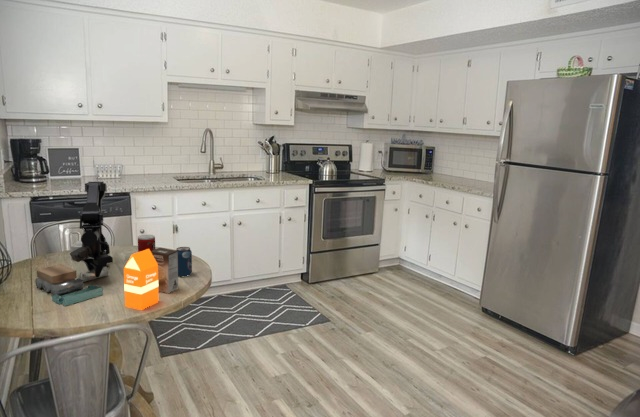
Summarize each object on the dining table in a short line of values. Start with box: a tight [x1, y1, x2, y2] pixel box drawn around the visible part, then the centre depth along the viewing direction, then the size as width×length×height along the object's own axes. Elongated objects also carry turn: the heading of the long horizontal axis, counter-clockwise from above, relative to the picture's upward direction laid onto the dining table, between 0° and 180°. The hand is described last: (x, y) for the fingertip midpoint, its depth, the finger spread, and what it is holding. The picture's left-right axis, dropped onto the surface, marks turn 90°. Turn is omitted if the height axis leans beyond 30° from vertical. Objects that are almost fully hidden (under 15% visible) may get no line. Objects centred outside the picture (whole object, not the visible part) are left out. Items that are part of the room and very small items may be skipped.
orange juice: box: [123, 249, 160, 311], centre depth 158 cm, size 8×9×20 cm
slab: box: [36, 263, 78, 284], centre depth 170 cm, size 9×12×3 cm
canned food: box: [137, 234, 156, 252], centre depth 211 cm, size 8×8×11 cm
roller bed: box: [35, 277, 104, 307], centre depth 168 cm, size 15×26×4 cm, turn 56°
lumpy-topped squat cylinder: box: [70, 240, 84, 263], centre depth 208 cm, size 10×13×9 cm
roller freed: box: [79, 267, 110, 283], centre depth 182 cm, size 10×4×4 cm, turn 146°
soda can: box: [175, 246, 193, 277], centre depth 191 cm, size 7×7×12 cm
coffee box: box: [151, 247, 179, 294], centre depth 173 cm, size 9×6×16 cm
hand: (94, 276), depth 182 cm, fingers closed on roller freed, 4 cm apart
